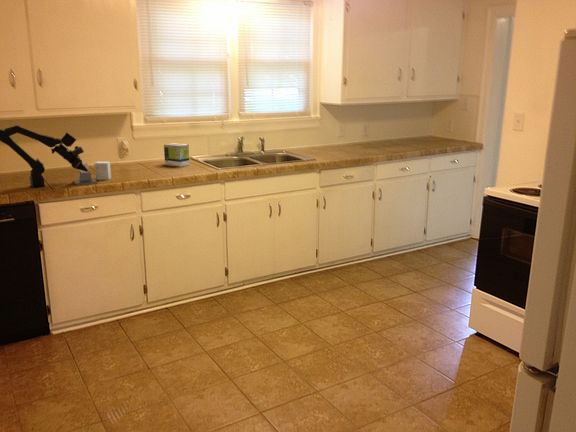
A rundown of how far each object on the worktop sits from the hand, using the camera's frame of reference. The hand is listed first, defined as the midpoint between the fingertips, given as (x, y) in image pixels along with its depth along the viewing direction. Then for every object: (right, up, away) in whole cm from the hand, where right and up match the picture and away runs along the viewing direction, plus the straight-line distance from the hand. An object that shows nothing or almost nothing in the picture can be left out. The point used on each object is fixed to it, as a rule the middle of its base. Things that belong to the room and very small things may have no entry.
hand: (86, 169), depth 320 cm
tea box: (+42, +8, +58) cm, 72 cm away
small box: (+6, -5, +12) cm, 14 cm away
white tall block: (-1, -6, +1) cm, 6 cm away
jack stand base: (-1, -8, +2) cm, 8 cm away
